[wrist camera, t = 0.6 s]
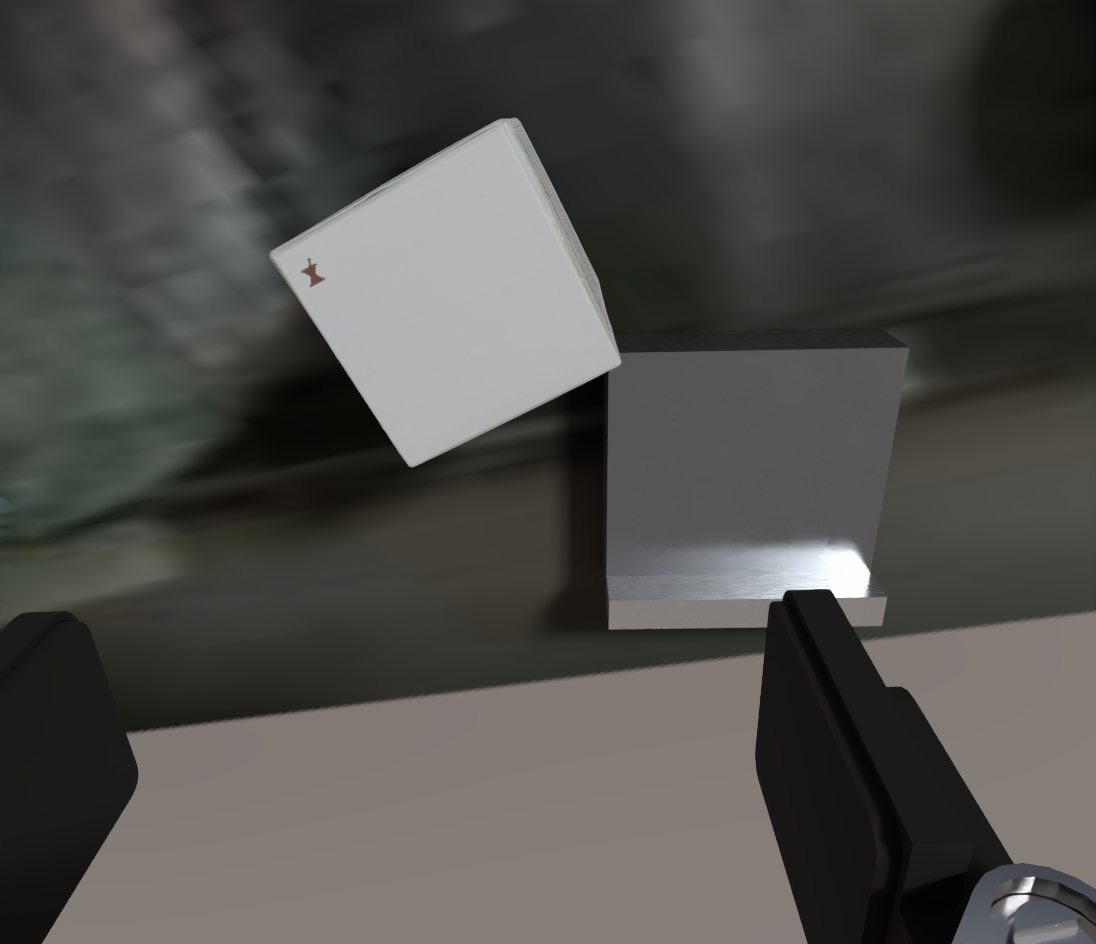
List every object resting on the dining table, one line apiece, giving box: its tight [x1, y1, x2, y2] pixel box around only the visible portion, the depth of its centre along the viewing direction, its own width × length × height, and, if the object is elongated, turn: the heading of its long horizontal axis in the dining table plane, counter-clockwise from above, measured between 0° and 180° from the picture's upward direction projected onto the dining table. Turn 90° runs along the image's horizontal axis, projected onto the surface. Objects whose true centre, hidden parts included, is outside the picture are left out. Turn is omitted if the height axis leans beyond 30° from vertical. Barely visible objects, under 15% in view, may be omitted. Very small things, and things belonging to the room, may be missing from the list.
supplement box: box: [269, 118, 621, 467], centre depth 27 cm, size 7×7×13 cm
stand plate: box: [602, 329, 909, 629], centre depth 34 cm, size 12×12×5 cm
